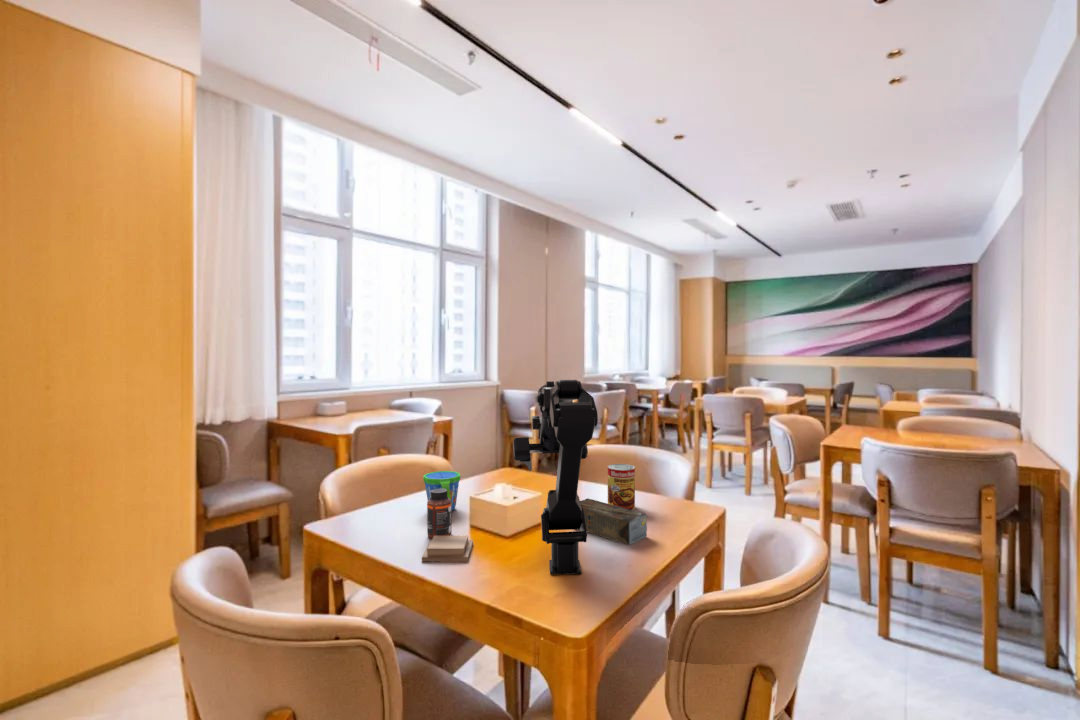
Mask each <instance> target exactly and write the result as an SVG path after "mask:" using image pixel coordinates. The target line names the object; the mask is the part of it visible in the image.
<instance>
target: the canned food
mask: <svg viewBox="0 0 1080 720" xmlns="http://www.w3.org/2000/svg"><path fill="white" fill-rule="evenodd" d="M635 471H636V466H635V465H633V464H627V463H613V464H609V465H607V504H611V505H614V506H618V507H622V508H625V509H629V510H632V511H635V509H636V472H635Z"/></svg>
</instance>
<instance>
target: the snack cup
mask: <svg viewBox="0 0 1080 720" xmlns="http://www.w3.org/2000/svg"><path fill="white" fill-rule="evenodd" d="M422 480H423V483H424V485H425V486H424V487H425V491H426V498H427V501H428V500H429V499H430V498H431V491H432V490H434V489H446V490H447V497H448V498H450V499H451V512H452V511H454V510H456V506H457V500H458V499H457V498H458V492H459V486H460V485H459V483H460V481H461V473H459V472H457V471H454V470H453V471H452V470H440V471H439V470H438V471H432V472H428V473H425V474H424V475H423V476H422Z"/></svg>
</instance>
